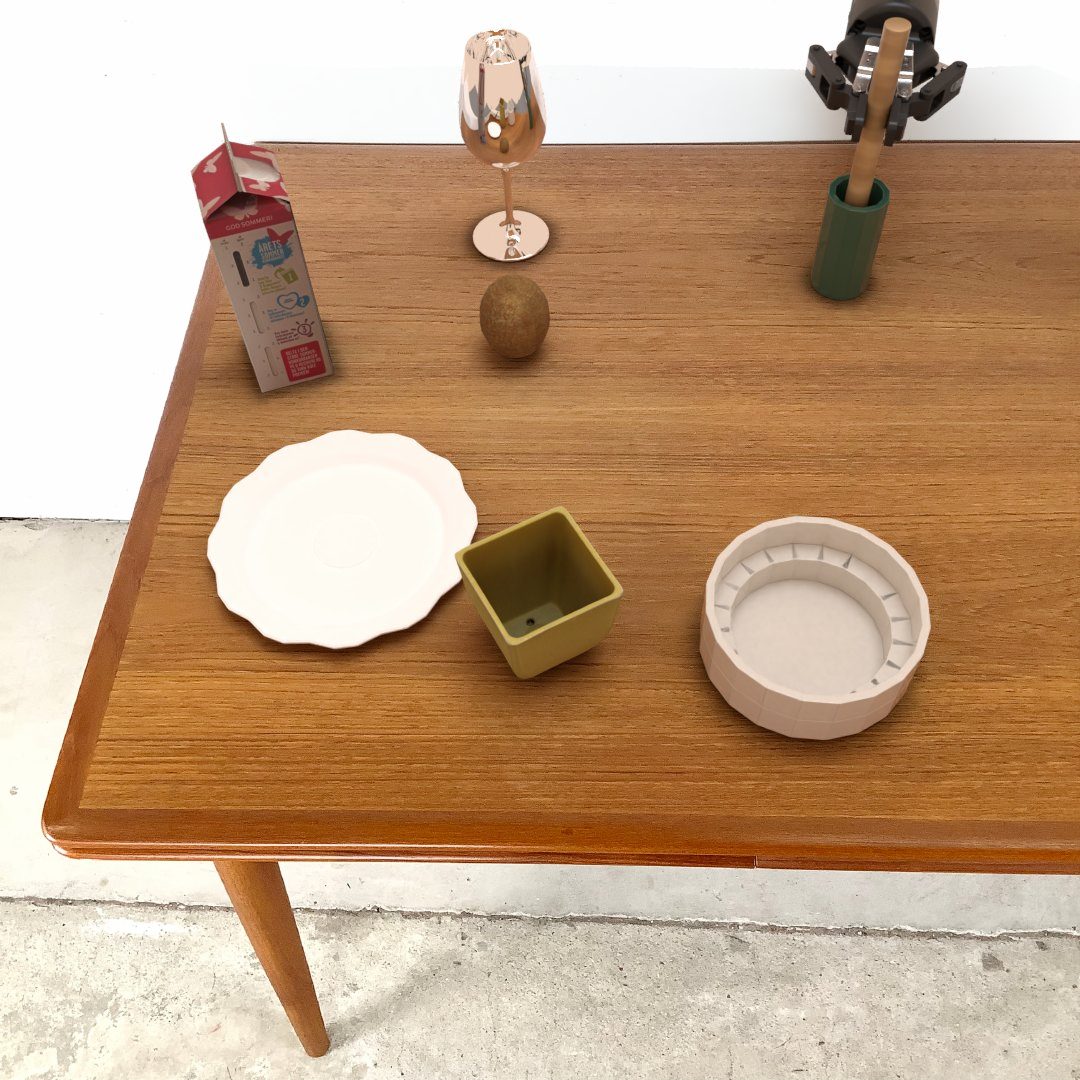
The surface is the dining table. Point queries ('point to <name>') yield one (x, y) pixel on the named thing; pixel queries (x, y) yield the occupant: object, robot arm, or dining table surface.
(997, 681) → the dining table surface
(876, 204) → the holder
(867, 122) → the stirring stick
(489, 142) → the wineglass
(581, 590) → the flower pot
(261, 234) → the juice carton
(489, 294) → the fruit
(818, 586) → the bowl
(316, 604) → the plate
